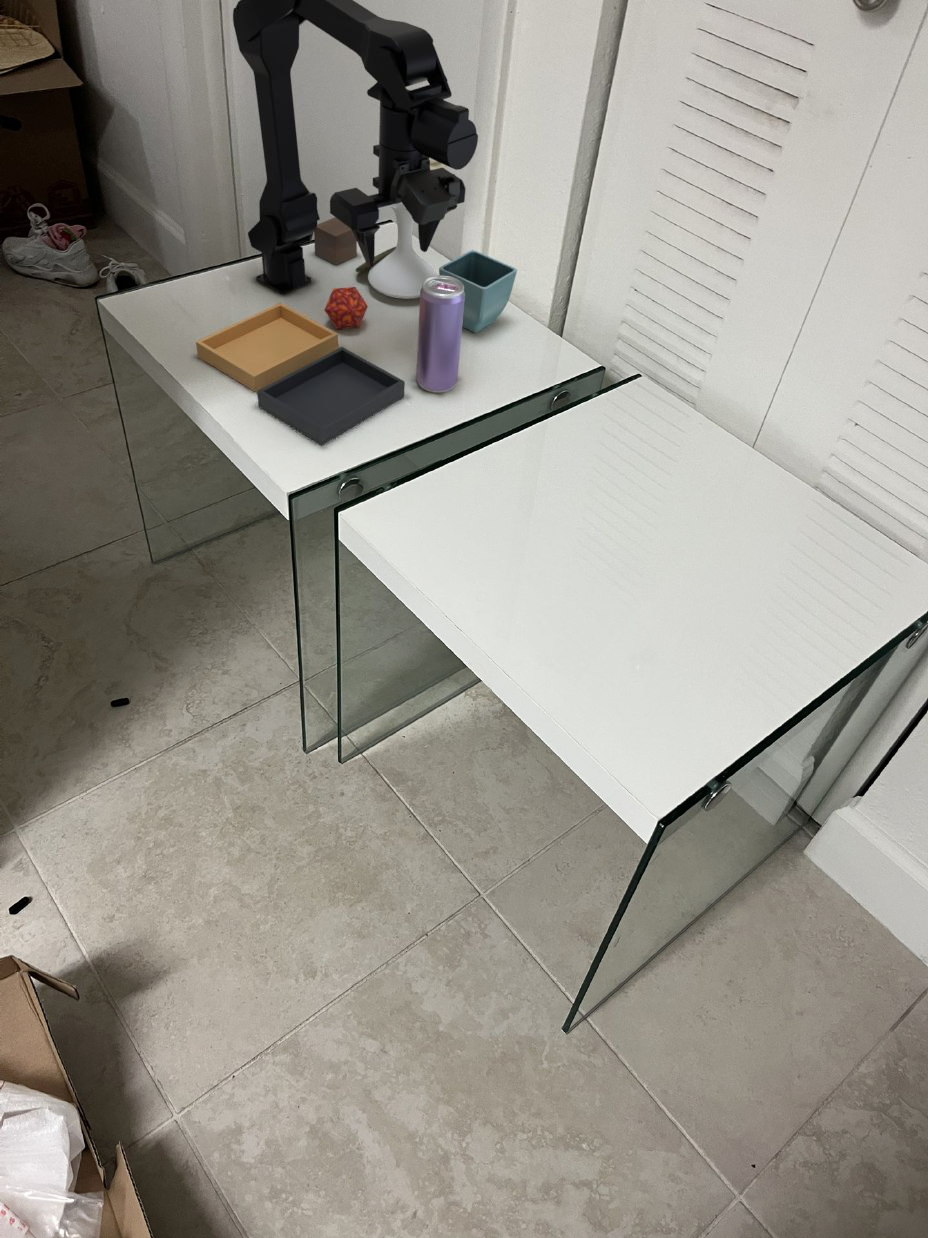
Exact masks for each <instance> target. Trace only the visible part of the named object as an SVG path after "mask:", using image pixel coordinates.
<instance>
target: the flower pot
mask: <svg viewBox="0 0 928 1238" xmlns="http://www.w3.org/2000/svg"><path fill="white" fill-rule="evenodd" d="M517 272H518V269H517V268H515V267H514V266H512V265H509V264H507V263H504V262H502V261H500V260H497V259H495V258H493V257H491V256H489V255H486V254H484V253H482V252H480V251H477V250H474V249H472V250H469V251H466V252H465V253H463V254H462V255H460V256H458V257H456V258H454V259H453V260H451V261H448V262H447V263H445V264H443V265H441V266H439V267H438V276H439V275H442V276H450V277H453V278H456V279H458V280H459V281H461V282H462V283H463V285H464V293H465V300H464V311H463V323H462V328H464V329H467V330H469V331H471V332H473V333H479V332H480V331H482V330H484V329H485V328H487V327H489V325H491V324H493V323H494V322H495V321H496V320H497V319H498V318H499V317H500V315H502V312H503V311H504V310H505V308H506V307H507V304H508V302H509V300H510V297H511V294H512V291H513V287H514V284H515V280H516V275H517Z"/></svg>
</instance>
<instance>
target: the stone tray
mask: <svg viewBox="0 0 928 1238" xmlns="http://www.w3.org/2000/svg"><path fill="white" fill-rule="evenodd" d="M405 385H406V381H405V380H403V379H401V378H399V377H397V376H396V375H394V374H392V373H390V372H389V371H387V370H385V369H383V368H382V367H379V366H378V365H376V364H374V363H372V362H371V361H369V360H367V359H365V358H363V357H361V356H360V355H358V354H356V353H354V352H352V351H351V350H349V349H347V348H345V347H343V346H341V347H338V349H337V350H335V351H333V352H331V353H329V354H327V355H325V356H323V357H321V358H320V359H318V360H316V361H314V362H312V363H310V364H308V365H306V366H304V367H302V368H300V369H298V370H296V371H295V372H293V373H291V374H289V375H287V376H285V377H283V378H281V379H279V380H277V381H275V382H273V383H271V384H270V385H268V386H266V387H264V388H262V389H260V390H258V391H256V395H257V403H258V404H257V406H258V408H260V409H262V410H263V411H265V412H267V413H269V414H270V415H272V416H273V417H275V418H277V419H278V420H280V421H281V422H283V423H285V424H286V425H288V426H289V427H292V429H294V430H296V431H298V432H299V433H300V434H302V435H304V436H305V437H307V438H309V439H311V440H312V441H314V442H316V443H317V444H319V445H320V446H324V445H325V444H326V443H328V442H330V441H331V440H334V439H335V438H337V437H339V436H340V435H343V434H344V433H345V432H347V431H349V430H350V429H352V428H353V427H356V426H357V425H358V424H360V423H362V422H364V421H366V420H367V419H369V418H371V417H372V416H374V415H375V414H377V413H379V412H380V411H382V410H384V409H386V408H387V407H389V406H392V404H394V403H396V402H397V401H399V400H401V399H403V398H405V389H406V388H405Z"/></svg>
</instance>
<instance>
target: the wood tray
mask: <svg viewBox="0 0 928 1238" xmlns="http://www.w3.org/2000/svg"><path fill="white" fill-rule="evenodd" d="M195 346H196V354H197V357H198V359H201V360H202V361H204V362H205V363H207V364H209V365H210V366H212V367H213V368H216V369H217V370H218V371H220V372H222V373H223V374H225V375H227V376H228V377H230V378H232V379H233V380H235V381H237V382H238V383H240V384H242V385H243V386H245V387H246V388H248V389H250V390H252V391H253V392H255V393H257V391H258V390H260V389H262V388H264V387H266V386H268V385H270V384H271V383H273V382H275V381H277V380H279V379H281V378H283V377H285V376H287V375H289V374H291V373H293V372H295V371H296V370H298V369H300V368H302V367H304V366H306V365H308V364H310V363H312V362H314V361H316V360H318V359H320V358H321V357H323V356H325V355H327V354H329V353H331V352H333V351H335V350H337V349H339V334H338V333H337V332H335V331H334V330H332V329H330V328H328V327H325V326H324V325H322V324H320V323H319V322H316V321H315V320H313V319H312V318H310V317H308V316H306V315H304V314H303V313H300V312H298V311H297V310H295V309H293V308H292V307H290V306H288V305H286V304H284V303H282V302H279V303H277V304H275V305H272V306H270V307H267V308H265V309H263V310H262V311H258V312H257V313H255V314H253V315H251V316H248V317H246V318H243V319H242V320H239V321H237V322H235V323H233V324H231V325H229V326H227V327H224V328H222V329H220V330H217V331H215V332H214V333H212V334H209V335H206V336H204V337H203V338H200V339H198V340H196V341H195Z"/></svg>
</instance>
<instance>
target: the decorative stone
mask: <svg viewBox="0 0 928 1238" xmlns="http://www.w3.org/2000/svg"><path fill="white" fill-rule="evenodd" d="M368 308H369V305H368V304H367V302H366V301H365V299H364V298H363V296H362V295H361V293H360V292H359V290H358V289H357V287H356V286H349V287H336V288H332V290H331V292H330V295H329V298H328V300H327V303H326V305H325V307H324V310H323V311H324V312H325V314H326V315H327V317H328V318H329V319H330V321H331V322H332V324H333V326H334V327H335V328H336V329H337V330H343V329H354V328H360V326H361V324H362V321H363V319H364V316H365V315H366V312H367V310H368Z"/></svg>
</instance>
